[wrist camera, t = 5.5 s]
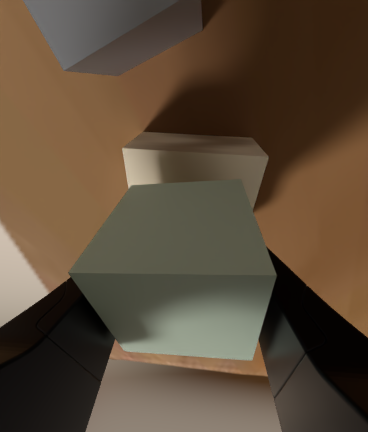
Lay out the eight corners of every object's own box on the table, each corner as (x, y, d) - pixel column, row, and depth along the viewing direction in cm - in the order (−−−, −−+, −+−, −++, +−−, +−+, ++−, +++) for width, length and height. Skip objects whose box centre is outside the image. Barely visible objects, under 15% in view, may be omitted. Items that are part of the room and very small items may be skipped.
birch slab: (251, 136, 12) (268, 156, 9) (231, 222, 16) (238, 258, 13) (143, 131, 12) (122, 148, 9) (151, 216, 16) (138, 249, 13)
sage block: (240, 179, 8) (276, 275, 4) (234, 257, 11) (252, 360, 7) (131, 185, 9) (68, 272, 5) (152, 257, 12) (124, 351, 8)
